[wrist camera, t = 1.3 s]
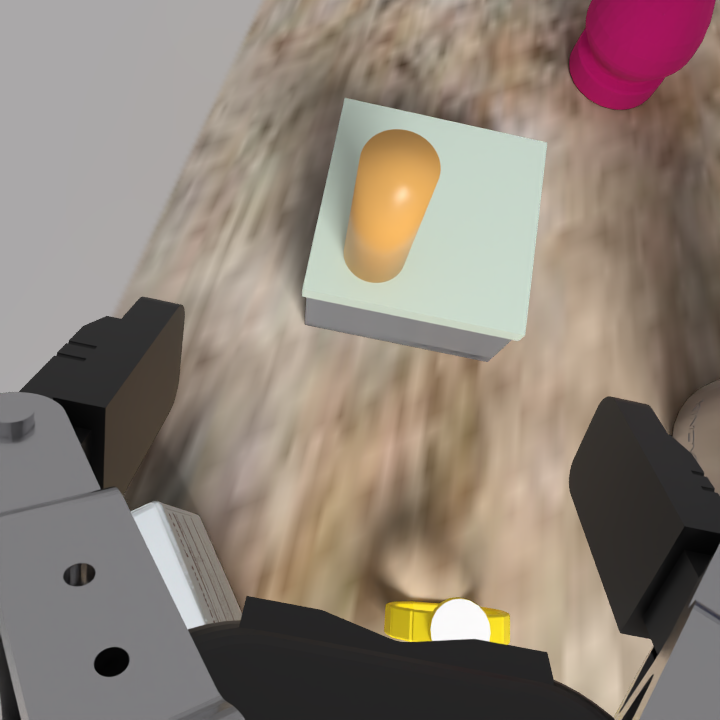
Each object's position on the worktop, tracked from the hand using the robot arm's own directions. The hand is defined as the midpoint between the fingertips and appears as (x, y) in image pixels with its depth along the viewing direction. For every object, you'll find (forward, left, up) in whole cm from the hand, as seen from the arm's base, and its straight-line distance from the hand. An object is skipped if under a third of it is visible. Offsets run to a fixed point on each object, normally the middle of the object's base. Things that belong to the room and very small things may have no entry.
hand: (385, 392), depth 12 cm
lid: (-3, -15, -20) cm, 25 cm away
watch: (-7, +5, -25) cm, 26 cm away
